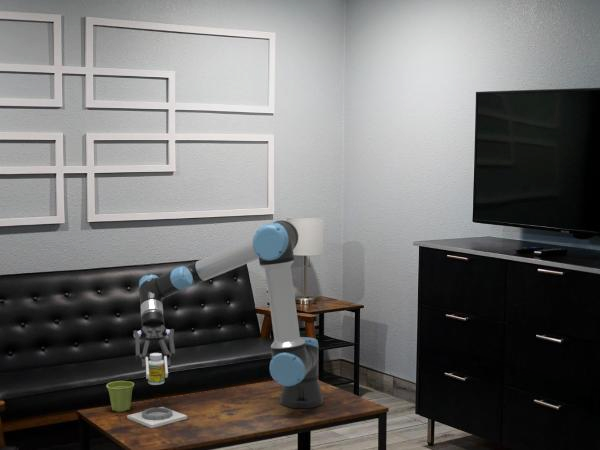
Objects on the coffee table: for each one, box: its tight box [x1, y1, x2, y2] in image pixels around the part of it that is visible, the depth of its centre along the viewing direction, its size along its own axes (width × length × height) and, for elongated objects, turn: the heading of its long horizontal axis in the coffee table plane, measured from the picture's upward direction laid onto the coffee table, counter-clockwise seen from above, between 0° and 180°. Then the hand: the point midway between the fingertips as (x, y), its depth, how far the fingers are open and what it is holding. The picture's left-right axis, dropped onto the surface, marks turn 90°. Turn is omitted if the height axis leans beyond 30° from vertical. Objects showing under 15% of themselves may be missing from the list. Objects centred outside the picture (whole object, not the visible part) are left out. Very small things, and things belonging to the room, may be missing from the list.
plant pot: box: [106, 380, 135, 413], centre depth 302 cm, size 9×9×9 cm
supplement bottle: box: [147, 352, 166, 386], centre depth 291 cm, size 5×5×10 cm
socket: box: [126, 406, 188, 429], centre depth 292 cm, size 14×14×2 cm
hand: (157, 375), depth 287 cm, fingers closed on supplement bottle, 5 cm apart
